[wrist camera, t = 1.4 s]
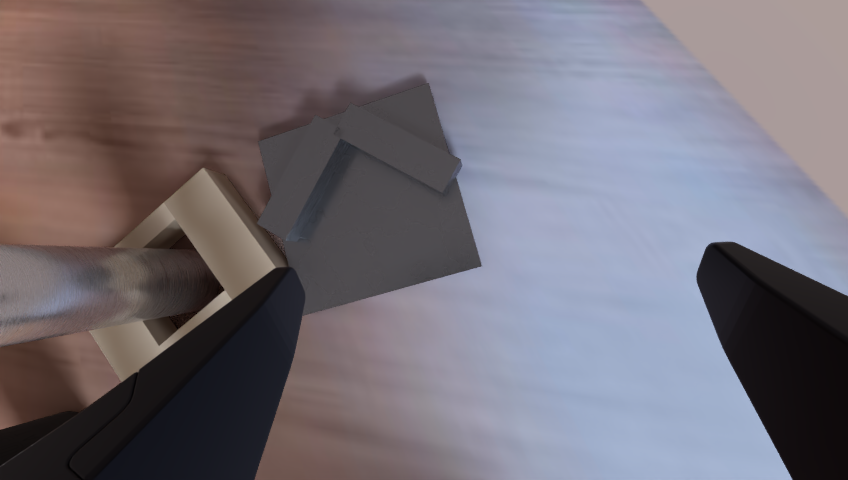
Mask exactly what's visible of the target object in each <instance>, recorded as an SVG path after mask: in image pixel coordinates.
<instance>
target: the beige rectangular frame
mask: <svg viewBox="0 0 848 480" xmlns="http://www.w3.org/2000/svg"><path fill="white" fill-rule="evenodd" d="M257 222H258V219H257V218H256V216H255V215H254V214H253V212H252V211H251V210H250V208H249V207H248V206H247V204H246V203H245V201H244V200H243V199H242V197H241V196H240V195H239V193H238V192H237V191H236V189H235V188H234V186H233V185H232V184H231V182H230V181H229V180H228V178H227V177H226V176H225V174H222V173H219V172H215V171H212V170H209V169H206V168H202V169H201V170H200V171H199V172H198V173H196V174H195V175H194V176H193V177H192V178H191V179H190V180H189V181H187V182H186V183H185V184H184V185H183V186H182V187H181V188H180V189H178V190H177V191H176V192H175V193H174V194H173V195H172V196H171V197H169V198H168V199H167V200H166V201H165V202H164V203H163V204H162V205H161V206H159V207H158V208H157V209H156V210H155V211H154V212H153V213H152V214H150V215H149V216H148V217H147V218H146V219H145V220H144V221H143V222H141V223H140V224H139V225H138V226H137V227H136V228H135V229H134V230H132V231H131V232H130V233H129V234H128V235H127V236H126V237H125V238H123V239H122V240H121V241H120V242H119V243H118V244H117V245H116V246H115V247H119V248H152V249H169V248H170V247H171V246H172V245H173V244H174V243H176V242H177V241H178V240H179V239H180V238H181V237H182V236H184V235H185V234H186V235H187V237H188V238H189V239H190V241H191V242H192V244H193V245H194V247H195V248H196V249H197V251H198V252H199V254H200V255H201V257H202V258H203V259H204V261H205V262H206V264H207V265H208V267H209V268H210V269H211V271H212V272H213V274H214V275H215V277H216V278H217V279H218V281H219V282H220V284H221V285H222V287H223V288H224V289H225V291H223V292H222V293H221V294H220V295H219V296H217V297H216V298H215V299H214V300H213V301H212V302H210V303H209V304H208V305H207V306H206V307H204V308H203V309H202V310H201V311H200V312H199V313H197V314H196V315H195V316H194V317H193V318H192V319H190V320H189V321H188V322H187V323H186V324H184V325H183V326H182V327H181V328H180V329H179V330H177V328H176V327H175V325H174V324H173V322H172V321H171V319H170V318H169V316H166V317H161V318H155V319H150V320H145V321H139V322H134V323H128V324H123V325H117V326H112V327H106V328H101V329H95V330H90V331H89V332H90V333H91V335H92V336H93V338H94V339H95V341H96V343H97V344H98V346H99V347H100V349H101V351H102V352H103V354H104V355H105V357H106V358H107V360H108V362H109V363H110V365H111V366H112V368H113V369H114V371H115V373H116V374H117V376H118V377H119V379H120V381H121V382H123V381H124V380H125V379H127V378H128V377H129V376H131V375H132V374H133V373H135V372H138V371H139V369H140V368H142V367H143V366H144V365H146V364H147V363H148V362H150V361H151V360H152V359H154V358H155V357H156V356H158V355H159V354H160V353H162V352H163V351H164V350H166V349H167V348H168V347H170V346H171V345H172V344H174V343H175V342H176V341H178V340H179V339H180V338H182V337H183V336H184V335H186V334H187V333H188V332H190V331H191V330H192V329H194V328H195V327H196V326H198V325H199V324H200V323H202V322H203V321H204V320H206V319H207V318H208V317H210V316H211V315H212V314H214V313H215V312H216V311H218V310H219V309H221V308H222V307H223V306H225V305H226V304H227V303H229V302H230V301H231V300H233V299H234V298H235V297H237V296H238V295H239V294H241V293H242V292H243V291H245V290H246V289H247V288H249V287H250V286H251V285H253V284H254V283H255V282H257V281H258V280H259V279H261V278H262V277H263V276H265V275H266V274H267V273H269V272H270V271H271V270H273V269H274V268H277V267H289V264H288V260H287V259H286V257H285V256H284V255H283V253H282V252H281V250H280V249H279V248H278V246H277V245H276V244H275V242H274V241H273V240H272V238H271V237H270V235H269V234H268V233H267V231H266V230H265V229H264V228H263V227H261V226H260V225H258V224H257Z"/></svg>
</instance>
